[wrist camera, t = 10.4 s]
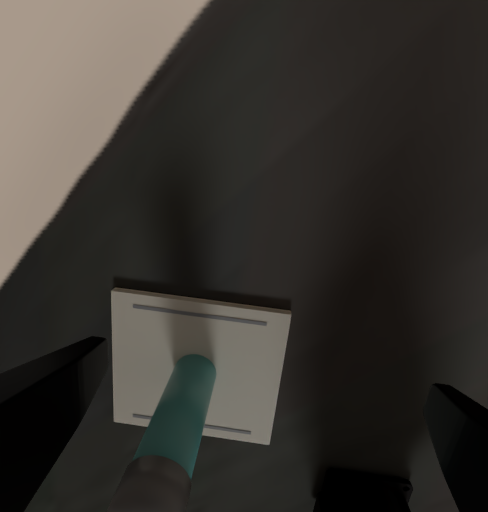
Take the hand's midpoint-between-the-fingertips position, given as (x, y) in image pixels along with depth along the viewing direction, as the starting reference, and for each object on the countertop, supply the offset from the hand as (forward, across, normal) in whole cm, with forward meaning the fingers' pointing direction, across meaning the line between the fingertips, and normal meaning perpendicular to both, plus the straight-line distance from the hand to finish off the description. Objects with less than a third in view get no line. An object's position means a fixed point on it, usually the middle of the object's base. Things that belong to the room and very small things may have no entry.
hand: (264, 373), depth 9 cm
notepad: (+12, +4, +9) cm, 16 cm away
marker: (+11, +4, +9) cm, 15 cm away
